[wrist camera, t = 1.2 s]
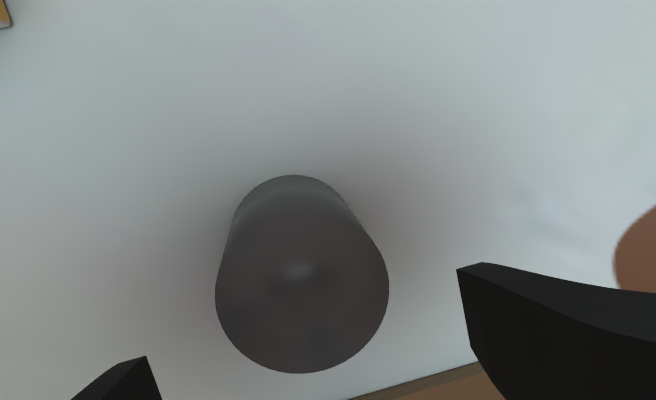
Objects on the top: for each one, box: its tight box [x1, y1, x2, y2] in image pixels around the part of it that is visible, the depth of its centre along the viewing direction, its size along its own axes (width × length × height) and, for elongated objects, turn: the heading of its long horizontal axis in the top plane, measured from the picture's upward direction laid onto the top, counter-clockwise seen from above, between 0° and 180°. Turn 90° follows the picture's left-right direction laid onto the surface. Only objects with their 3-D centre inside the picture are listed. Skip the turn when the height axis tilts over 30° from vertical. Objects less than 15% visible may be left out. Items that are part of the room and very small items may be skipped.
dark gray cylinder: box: [215, 175, 389, 374], centre depth 17 cm, size 5×5×6 cm
